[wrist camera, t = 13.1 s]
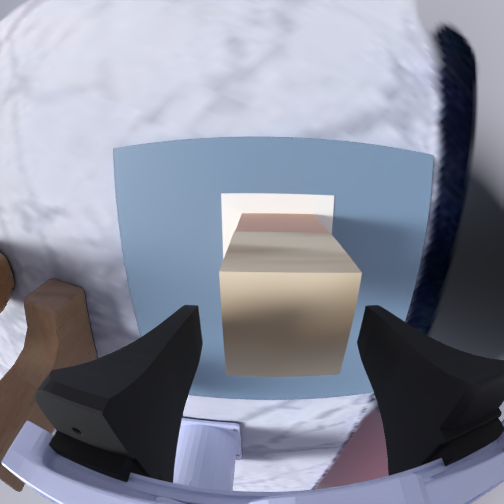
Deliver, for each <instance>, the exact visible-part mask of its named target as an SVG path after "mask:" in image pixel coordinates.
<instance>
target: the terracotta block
mask: <svg viewBox="0 0 504 504" xmlns="http://www.w3.org/2000/svg"><path fill="white" fill-rule="evenodd" d="M235 231H236V232H305V233H329V231H328V230H327V229H326V228H325V227H324V225H323V224H322V223H321V222H320V221H319V219H318V218H317V217H316V216H315V215H314V214H281V213H242V214H241V217H240V220H239V222H238V225H237V228H236V230H235Z"/></svg>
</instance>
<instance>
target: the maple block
mask: <svg viewBox="0 0 504 504" xmlns="http://www.w3.org/2000/svg"><path fill="white" fill-rule="evenodd" d="M361 276H362V272H361V271H360V269H359V268H358V267H357V265H356V264H355V263H354V262H353V260H352V259H351V258H350V256H349V255H348V254H347V253H346V251H345V250H344V249H343V248H342V246H341V245H340V244H339V243H338V241H337V240H336V239H335V238H334V237H333V235H332V234H331V233H305V232H236V231H234V233H233V236H232V238H231V241H230V244H229V246H228V249H227V251H226V254H225V257H224V260H223V262H222V265H221V268H220V270H219V279H220V297H221V313H222V327H223V341H224V354H225V366H226V375H230V376H256V377H294V376H320V375H335V374H340V370H341V367H342V363H343V359H344V355H345V352H346V348H347V344H348V339H349V335H350V331H351V327H352V322H353V318H354V313H355V308H356V303H357V298H358V293H359V287H360V282H361Z"/></svg>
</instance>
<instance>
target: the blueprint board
mask: <svg viewBox="0 0 504 504" xmlns="http://www.w3.org/2000/svg"><path fill="white" fill-rule="evenodd" d="M113 160H114V179H115V193H116V204H117V213H118V222H119V230H120V237H121V244H122V251H123V257H124V263H125V269H126V274H127V279H128V284H129V289H130V294H131V299H132V303H133V307H134V312H135V316H136V320H137V324H138V328H139V332H140V335H141V337H142V336H144V335H145V334H147V333H148V332H149V331H151V330H152V329H154V328H155V327H157V326H158V325H159V324H161V323H162V322H163V321H164V320H166V319H167V318H168V317H170V316H171V315H172V314H173V313H174V312H176V311H177V310H178V309H180V308H181V307H182V306H184V305H198V307H199V316H200V325H201V333H202V340H203V345H202V351H201V356H200V361H199V365H198V368H197V371H196V374H195V377H194V379H193V382H192V385H191V388H190V391H189V394H188V395H194V396H204V397H215V398H229V399H252V400H292V399H315V398H329V397H340V396H349V395H358V394H366V393H373V392H374V391H373V389H372V386H371V384H370V381H369V379H368V376H367V374H366V371H365V369H364V366H363V364H362V361H361V357H360V354H359V349H358V345H357V340H358V336H359V332H360V328H361V324H362V320H363V315H364V311H365V306H368V305H379V306H381V307H383V308H384V309H386V310H388V311H389V312H391V313H392V314H394V315H395V316H397V317H398V318H400V319H401V320H403V321H404V322H405V320H406V317H407V313H408V310H409V307H410V303H411V299H412V296H413V292H414V288H415V284H416V280H417V276H418V271H419V267H420V262H421V257H422V252H423V247H424V241H425V235H426V229H427V222H428V215H429V207H430V198H431V187H432V174H433V155H430V154H425V153H421V152H415V151H410V150H405V149H399V148H393V147H387V146H380V145H373V144H365V143H357V142H348V141H338V140H326V139H312V138H293V137H219V138H200V139H186V140H174V141H164V142H155V143H147V144H139V145H132V146H126V147H119V148H113ZM242 213H281V214H314V215H315V216H316V217H317V218H318V219H319V221H320V222H321V223H322V224H323V225H324V227H325V228H326V229H327V230H328V231H329V233H331V234H332V235H333V237H334V238H335V239H336V240H337V241H338V243H339V244H340V245H341V246H342V248H343V249H344V250H345V251H346V253H347V254H348V255H349V256H350V258H351V259H352V260H353V262H354V263H355V264H356V265H357V267H358V268H359V269H360V271H361V272H362V276H361V282H360V287H359V293H358V298H357V303H356V308H355V313H354V318H353V322H352V327H351V331H350V335H349V339H348V344H347V348H346V352H345V355H344V359H343V363H342V367H341V370H340V374H335V375H320V376H294V377H256V376H230V375H226V366H225V354H224V341H223V327H222V313H221V297H220V279H219V270H220V268H221V265H222V262H223V260H224V257H225V254H226V251H227V249H228V246H229V244H230V241H231V238H232V236H233V233H234V231H235V230H236V228H237V225H238V222H239V220H240V217H241V214H242Z"/></svg>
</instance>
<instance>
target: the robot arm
mask: <svg viewBox="0 0 504 504" xmlns="http://www.w3.org/2000/svg"><path fill="white" fill-rule="evenodd" d="M202 345H203V340H202V333H201V325H200V316H199V307H198V305H184V306H182V307H181V308H180V309H178V310H177V311H176V312H174V313H173V314H172V315H171V316H170V317H168V318H167V319H166V320H164V321H163V322H162V323H161V324H159V325H158V326H157V327H155V328H154V329H152V330H151V331H149V332H148V333H147V334H145V335H144V336H142V337H141V338H139V339H138V340H136V341H134V342H133V343H131V344H129V345H127V346H125V347H123V348H122V349H120V350H117V351H115V352H113V353H110V354H108V355H106V356H104V357H101V358H98V359H96V360H93V361H90V362H86V363H83V364H80V365H76V366H71V367H66V368H61V369H55V370H51V372H50V373H49V374H48V376H47V377H46V378H45V379H44V381H43V382H42V383H41V385H40V386H39V387H38V389H37V390H36V391H35V399H36V402H37V404H38V406H39V407H40V409H41V410H42V412H43V413H44V415H45V416H46V417H47V419H48V420H49V421H50V422H51V424H52V425H53V426H54V428H55V429H56V430H57V431H56V433H55V435H54V436H53V435H52V434H50V433H49V432H48V431H46V430H45V429H43V428H41V427H39V426H37V425H35V424H34V423H32V422H30V421H26V423H25V424H24V426H23V427H22V429H21V430H20V432H19V434H18V435H17V437H16V438H15V440H14V442H13V443H12V445H11V446H10V448H9V450H8V451H7V453H6V455H5V457H4V458H3V460H2V465H3V466H4V467H6V468H7V469H8V470H9V471H10V472H11V473H13V474H14V475H15V476H16V477H17V478H19V479H20V480H21V481H22V482H24V483H25V484H27V485H28V486H29V487H30V488H32V489H33V490H35V491H36V492H37V493H39V494H40V495H42V496H43V497H45V498H46V499H48V500H50V501H51V502H53V503H55V504H470V503H472V502H474V501H476V500H477V499H479V498H480V497H482V496H483V495H485V494H486V493H488V492H489V491H491V490H492V489H493V488H495V487H496V486H498V485H499V484H500V483H502V482H503V481H504V420H503V421H502V422H501V421H500V420H499V418H498V417H500V416H501V411H500V409H499V407H500V405H501V404H502V402H503V401H504V360H496V359H489V358H484V357H480V356H476V355H472V354H469V353H466V352H463V351H460V350H457V349H454V348H452V347H449V346H447V345H445V344H443V343H441V342H439V341H436V340H435V339H432V338H431V337H429V336H427V335H425V334H424V333H422V332H420V331H419V330H417V329H415V328H414V327H412V326H411V325H409V324H407V323H406V322H404V321H403V320H401V319H400V318H398V317H397V316H395V315H394V314H392V313H391V312H389V311H388V310H386V309H384V308H383V307H381V306H379V305H368V306H365V311H364V315H363V320H362V324H361V328H360V332H359V336H358V340H357V345H358V349H359V354H360V357H361V361H362V364H363V366H364V369H365V371H366V374H367V376H368V379H369V381H370V384H371V386H372V389H373V391H374V394H375V396H376V399H377V402H378V405H379V409H380V413H381V417H382V422H383V427H384V433H385V438H386V446H387V455H388V471H389V476H386V477H382V478H379V479H374V480H370V481H366V482H361V483H356V484H351V485H345V486H339V487H332V488H325V489H315V490H305V491H289V492H243V491H233V480H234V470H235V460H240V459H242V449H241V435H240V425H239V424H237V423H228V422H215V421H205V420H196V419H188V418H182V416H183V411H184V407H185V403H186V400H187V397H188V394H189V391H190V388H191V385H192V382H193V379H194V377H195V374H196V371H197V368H198V365H199V361H200V356H201V351H202Z"/></svg>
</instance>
